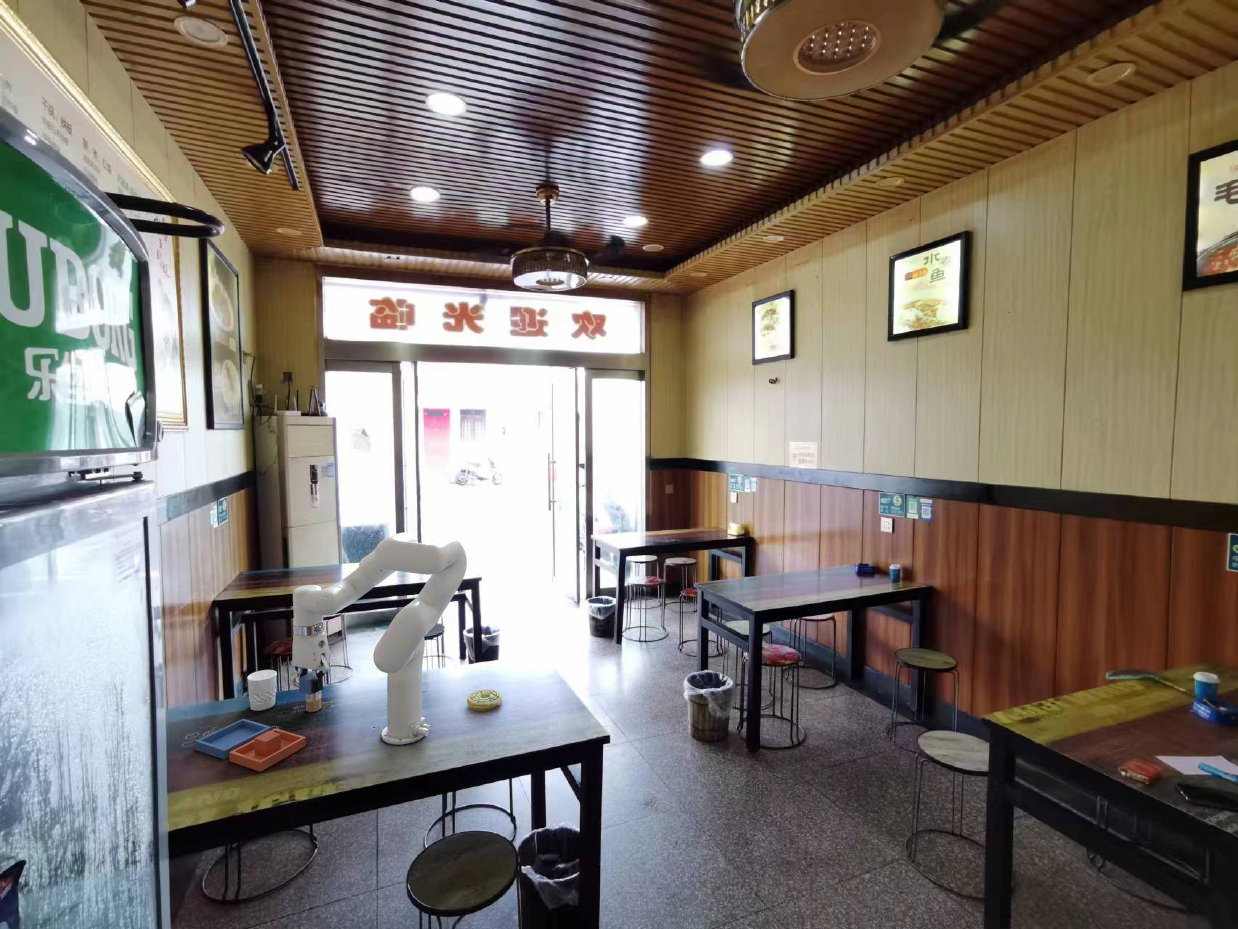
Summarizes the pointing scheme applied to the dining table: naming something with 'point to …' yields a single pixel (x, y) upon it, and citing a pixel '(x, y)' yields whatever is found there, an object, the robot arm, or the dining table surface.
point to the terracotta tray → (251, 760)
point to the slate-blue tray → (230, 738)
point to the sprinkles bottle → (313, 700)
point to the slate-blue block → (306, 684)
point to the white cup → (262, 689)
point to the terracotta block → (267, 743)
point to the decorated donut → (484, 700)
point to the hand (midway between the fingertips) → (311, 689)
